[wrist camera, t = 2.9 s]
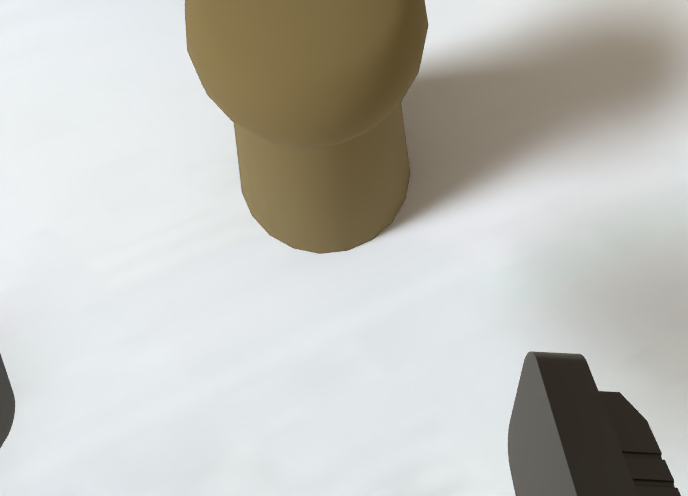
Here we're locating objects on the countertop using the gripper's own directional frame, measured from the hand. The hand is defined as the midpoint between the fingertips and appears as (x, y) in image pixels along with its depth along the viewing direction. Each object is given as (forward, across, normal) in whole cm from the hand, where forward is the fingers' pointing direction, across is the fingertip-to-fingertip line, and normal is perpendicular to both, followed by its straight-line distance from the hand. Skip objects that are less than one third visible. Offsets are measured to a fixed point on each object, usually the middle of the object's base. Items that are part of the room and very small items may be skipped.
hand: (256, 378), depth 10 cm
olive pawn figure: (+14, 0, +3) cm, 14 cm away
